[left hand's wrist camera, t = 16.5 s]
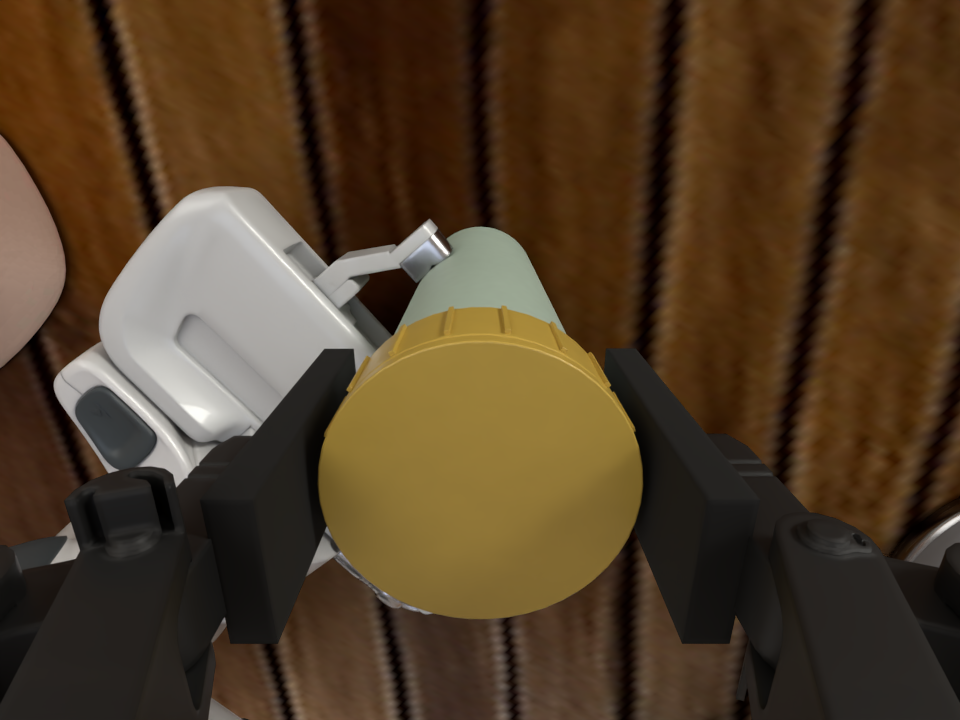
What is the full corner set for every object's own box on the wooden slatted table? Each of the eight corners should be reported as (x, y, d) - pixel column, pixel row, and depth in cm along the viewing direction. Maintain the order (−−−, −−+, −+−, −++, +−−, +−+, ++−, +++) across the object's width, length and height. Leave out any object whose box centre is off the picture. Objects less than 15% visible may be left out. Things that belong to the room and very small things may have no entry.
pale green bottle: (514, 342, 29) (566, 610, 12) (416, 315, 28) (319, 554, 11) (546, 244, 27) (663, 390, 10) (442, 213, 27) (373, 311, 9)
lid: (671, 446, 12) (712, 507, 10) (467, 588, 14) (465, 667, 12) (497, 240, 11) (501, 260, 8) (285, 425, 12) (243, 482, 10)
